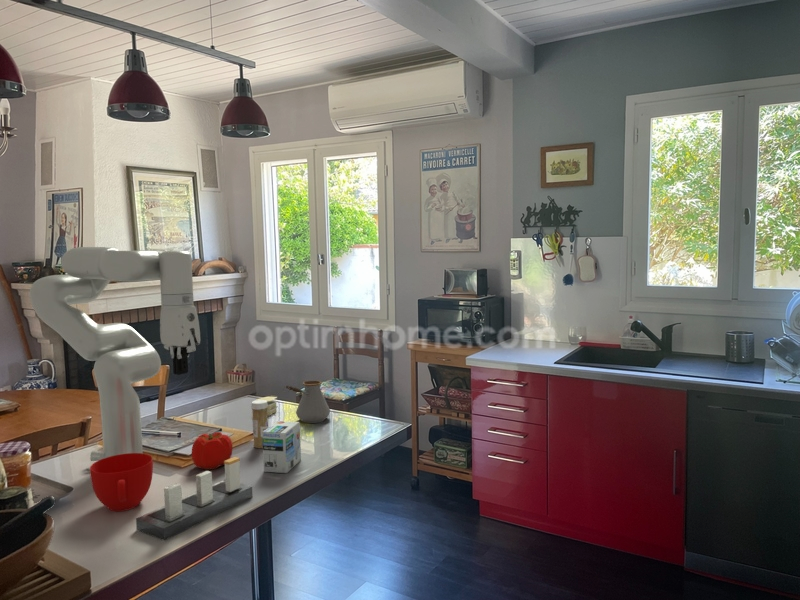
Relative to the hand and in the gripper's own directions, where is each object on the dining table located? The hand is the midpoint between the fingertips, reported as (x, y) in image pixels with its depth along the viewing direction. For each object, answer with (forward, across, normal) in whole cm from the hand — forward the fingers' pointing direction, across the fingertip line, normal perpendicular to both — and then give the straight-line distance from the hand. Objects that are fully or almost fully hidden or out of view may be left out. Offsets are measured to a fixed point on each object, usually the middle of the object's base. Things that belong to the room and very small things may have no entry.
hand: (180, 373), depth 150 cm
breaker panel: (+27, -19, +12) cm, 35 cm away
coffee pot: (+27, +4, -51) cm, 58 cm away
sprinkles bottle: (+27, +1, -27) cm, 39 cm away
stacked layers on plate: (+28, +25, -54) cm, 66 cm away
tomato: (+27, 0, -9) cm, 29 cm away
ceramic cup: (+27, -3, +19) cm, 33 cm away
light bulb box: (+27, -16, -18) cm, 37 cm away
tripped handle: (+24, -22, +4) cm, 33 cm away
